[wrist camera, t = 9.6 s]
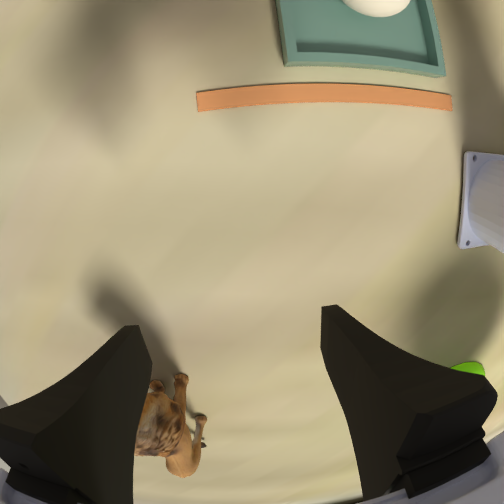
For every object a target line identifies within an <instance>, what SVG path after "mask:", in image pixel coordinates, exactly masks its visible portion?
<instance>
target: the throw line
mask: <svg viewBox="0 0 504 504" xmlns="http://www.w3.org/2000/svg"><path fill="white" fill-rule="evenodd" d="M196 95H197V104H198V112H201V111H208V110H215V109H223V108H231V107H241V106H251V105H263V104H278V103H299V102H361V103H382V104H396V105H407V106H417V107H426V108H434V109H441V110H448V111H452V100H451V96H450V95H445V94H439V93H433V92H426V91H420V90H412V89H404V88H395V87H384V86H372V85H355V84H281V85H264V86H251V87H240V88H230V89H222V90H214V91H207V92H200V93H196Z"/></svg>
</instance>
